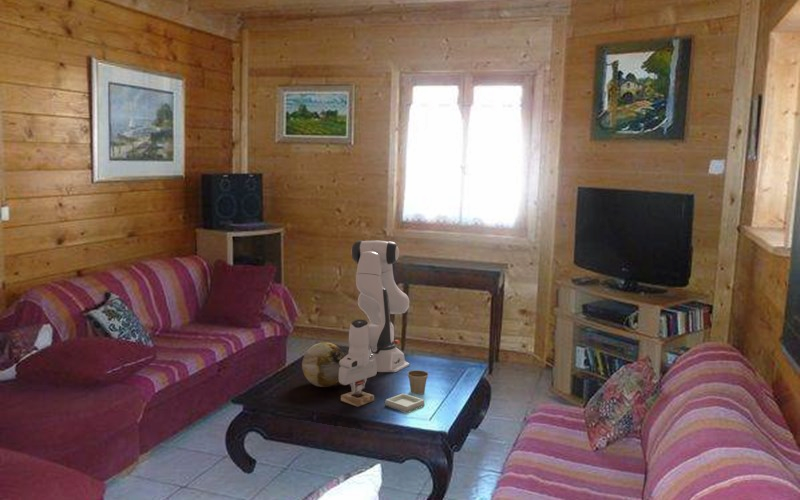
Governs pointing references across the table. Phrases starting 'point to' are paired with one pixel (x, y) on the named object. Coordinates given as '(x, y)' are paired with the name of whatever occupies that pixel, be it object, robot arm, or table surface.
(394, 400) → the tray
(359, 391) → the pin
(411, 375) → the flower pot
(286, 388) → the table surface
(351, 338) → the robot arm
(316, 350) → the decorative sphere
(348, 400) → the block
